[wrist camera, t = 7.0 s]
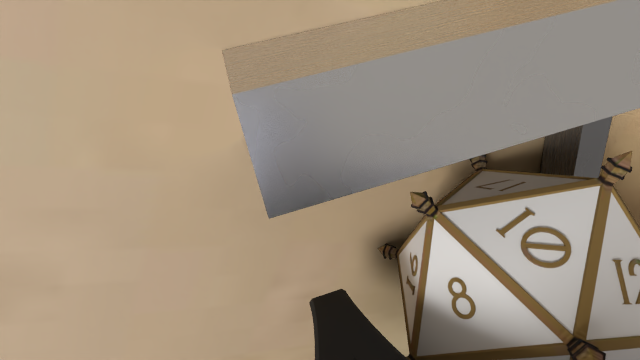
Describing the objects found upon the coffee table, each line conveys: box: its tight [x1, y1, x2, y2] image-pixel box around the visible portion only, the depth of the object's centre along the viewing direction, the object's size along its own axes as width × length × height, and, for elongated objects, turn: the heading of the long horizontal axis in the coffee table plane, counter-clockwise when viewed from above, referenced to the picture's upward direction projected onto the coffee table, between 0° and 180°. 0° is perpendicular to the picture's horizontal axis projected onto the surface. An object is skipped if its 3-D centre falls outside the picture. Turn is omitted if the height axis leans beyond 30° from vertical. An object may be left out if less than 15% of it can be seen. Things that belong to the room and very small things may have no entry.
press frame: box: [222, 0, 640, 218], centre depth 14 cm, size 23×12×5 cm, turn 10°
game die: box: [378, 151, 640, 360], centre depth 12 cm, size 9×8×10 cm
